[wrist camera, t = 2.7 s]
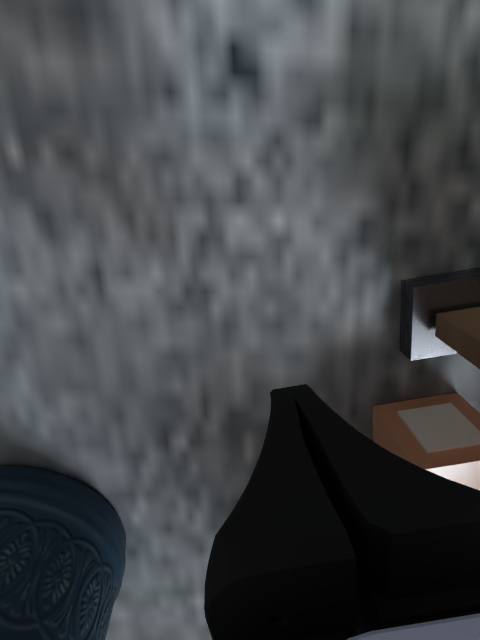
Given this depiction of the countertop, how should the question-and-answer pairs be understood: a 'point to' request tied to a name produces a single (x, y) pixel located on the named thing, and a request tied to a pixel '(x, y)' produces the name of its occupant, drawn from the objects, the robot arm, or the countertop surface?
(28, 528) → the canister
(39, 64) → the countertop surface
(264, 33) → the countertop surface
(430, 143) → the countertop surface
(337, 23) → the countertop surface
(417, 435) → the cube
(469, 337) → the panel
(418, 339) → the rail
